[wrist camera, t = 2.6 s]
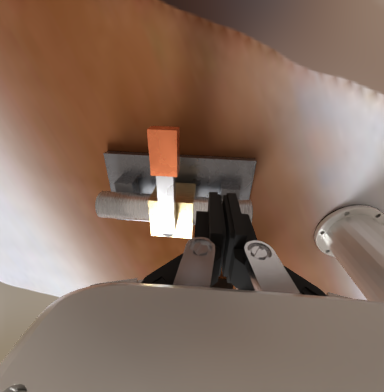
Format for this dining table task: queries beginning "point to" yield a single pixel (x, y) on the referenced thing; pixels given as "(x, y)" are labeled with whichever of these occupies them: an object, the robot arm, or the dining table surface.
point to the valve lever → (165, 173)
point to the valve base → (187, 172)
